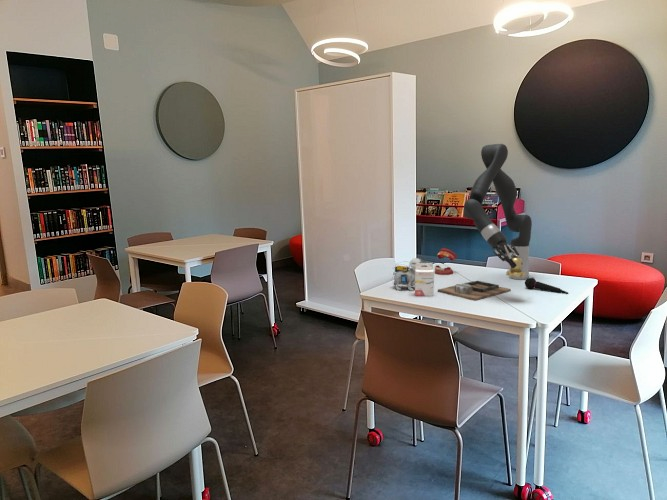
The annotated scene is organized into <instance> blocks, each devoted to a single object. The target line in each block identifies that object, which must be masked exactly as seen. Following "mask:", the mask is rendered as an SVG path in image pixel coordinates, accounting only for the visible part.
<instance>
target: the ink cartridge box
mask: <svg viewBox="0 0 667 500" xmlns="http://www.w3.org/2000/svg"><path fill="white" fill-rule="evenodd" d="M421 266H427V267H421ZM433 267H434V263H433V262H431V263H430V262H429V263H428V262H426V263H416V269H415V286H414V295H415V296H416V297H434V296H435V294H434V293H435V270H434V268H433Z"/></svg>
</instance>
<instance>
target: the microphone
mask: <svg viewBox="0 0 667 500" xmlns="http://www.w3.org/2000/svg"><path fill="white" fill-rule="evenodd" d="M524 280H525V281H524V286H525V288H527V289H529V290H531V289H538V290H540V291H543V290H544V291H547V292H550V291H551V293H556V294H566V295H567V294H569V292H568V291H565V290H563V289H562V288H560V287H557V286H555V285H554V286H553V285H550V284H547V283H544V282H541V281H536V279H535V277H528V278H527V279H524Z"/></svg>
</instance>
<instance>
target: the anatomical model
mask: <svg viewBox="0 0 667 500" xmlns="http://www.w3.org/2000/svg"><path fill="white" fill-rule="evenodd" d="M447 257H448V259H449V260H450V261H454V260H457V258H458V255H457V254H456V253H455V252H454V251H452V250H451V249H448V248H445V247H442V248H441V249H440V250H439V252H438V253H437V258H438V259H439V260H442V259H445V258H447ZM453 274H454V271H453V269H452V268H451V267H450V266H447V267H444V268H442V267H441V266H440V265H437V264H436V266H435V267H434V275H440V276H450V275H451V276H452V275H453Z"/></svg>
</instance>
